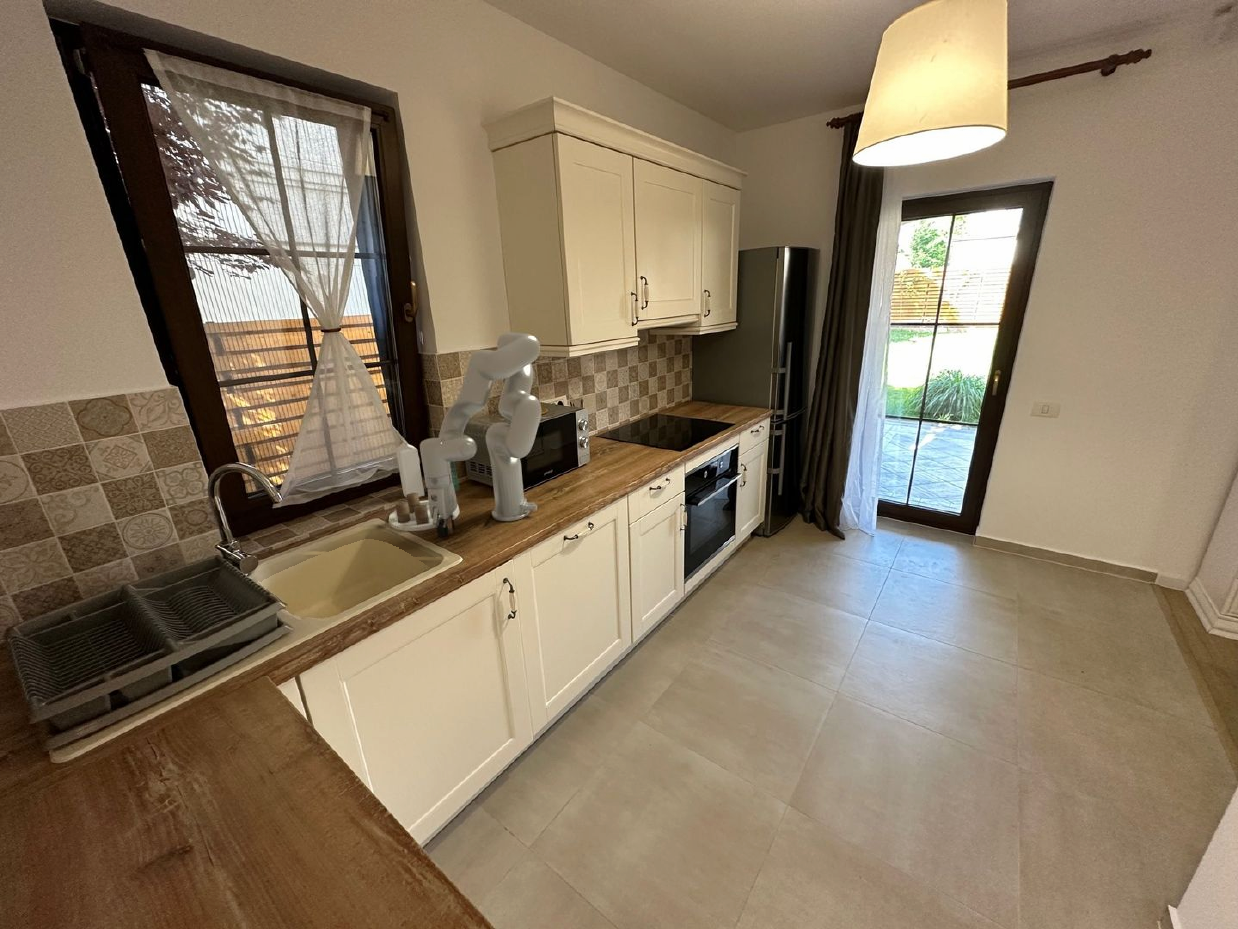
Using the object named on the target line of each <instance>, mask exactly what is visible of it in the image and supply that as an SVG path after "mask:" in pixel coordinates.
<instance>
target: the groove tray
mask: <svg viewBox="0 0 1238 929" xmlns="http://www.w3.org/2000/svg"><path fill="white" fill-rule="evenodd" d="M419 502H420V505H426V506H427V511H428V517H429V523H428V524H421V525H417V523H416V517H415V512H414V513H410V518H411V520H410V521H409V522H407V523H399V522H398V518H397V512H396V509H395V510H394V511H393V512H392V513H390V514H389V518H388V524H389V526H391V528H393V529H395V530H398V531H405V532H418V531H426V530H431V529H435V528H436V525H433V519H432V518H431V515H430V510H429V501H428V499H427V500H425V499H424V500H419ZM459 514H460V508H459V504H458V503H457V508H456V510H455V511H454V512H453V515H454V518H453V519H454V520H455V519H456V518H458V516H459ZM439 517H441V516H439Z"/></svg>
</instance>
